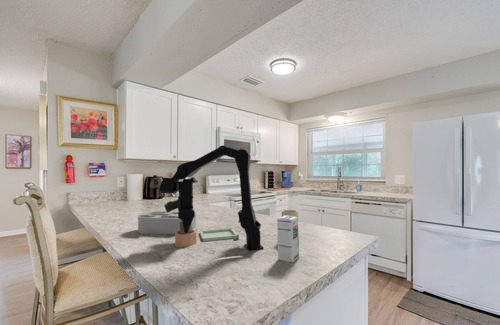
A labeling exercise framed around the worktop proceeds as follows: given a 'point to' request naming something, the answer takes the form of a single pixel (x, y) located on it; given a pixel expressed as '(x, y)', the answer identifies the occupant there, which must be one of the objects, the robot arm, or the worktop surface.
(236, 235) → the tray
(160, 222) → the ice cube tray
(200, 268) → the worktop surface
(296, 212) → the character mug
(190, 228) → the pepper mill
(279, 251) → the syrup box
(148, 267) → the worktop surface
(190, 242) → the utensil pot
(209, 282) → the worktop surface
